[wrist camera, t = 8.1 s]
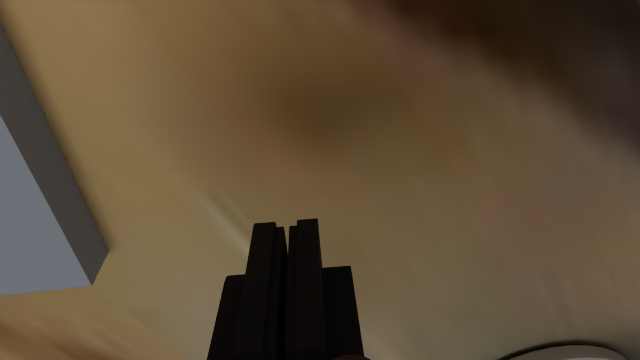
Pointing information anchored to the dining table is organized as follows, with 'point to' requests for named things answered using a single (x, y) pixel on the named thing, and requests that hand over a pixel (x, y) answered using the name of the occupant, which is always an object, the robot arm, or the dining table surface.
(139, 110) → the dining table surface
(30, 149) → the slate tile
